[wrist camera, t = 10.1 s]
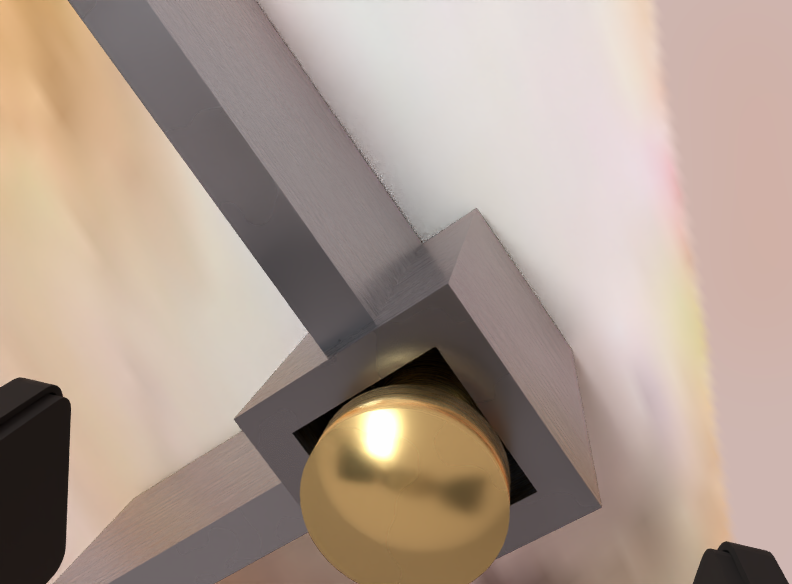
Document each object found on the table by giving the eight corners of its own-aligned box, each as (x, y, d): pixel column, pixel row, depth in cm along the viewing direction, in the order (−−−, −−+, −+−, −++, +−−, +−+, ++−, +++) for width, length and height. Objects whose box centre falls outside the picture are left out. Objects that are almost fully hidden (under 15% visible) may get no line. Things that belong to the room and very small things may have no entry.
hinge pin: (438, 399, 21) (378, 627, 12) (372, 305, 21) (259, 471, 12) (538, 341, 20) (551, 544, 11) (471, 242, 20) (429, 371, 11)
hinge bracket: (188, 567, 25) (38, 782, 17) (-101, 204, 23) (-416, 263, 15) (571, 350, 20) (601, 507, 13) (257, -120, 18) (70, -266, 11)
